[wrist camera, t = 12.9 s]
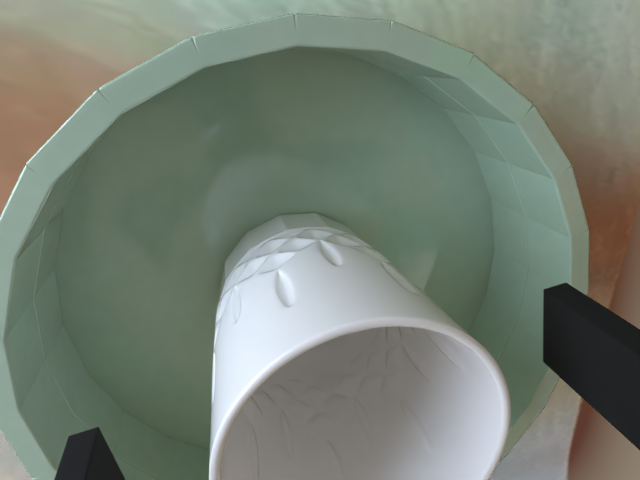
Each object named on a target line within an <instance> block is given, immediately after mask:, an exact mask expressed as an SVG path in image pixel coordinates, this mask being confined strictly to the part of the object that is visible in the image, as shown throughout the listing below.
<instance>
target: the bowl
mask: <svg viewBox="0 0 640 480" xmlns="http://www.w3.org/2000/svg"><path fill="white" fill-rule="evenodd" d="M26 164H27V165H26V166H24V168H23V170H22V172H21V174H20V176H19V178H18V180H17V182H16V184H15V186H14V188H13V191H12V193H11V195H10V197H9V199H8V201H7V203H6V205H5V207H4V209H3V211H2V213H1V215H0V430H1V432H2V433H3V435H4V436H5V438H6V440H7V441H8V443H9V444H10V446H11V447H12V449H13V451H14V452H15V454H16V455H17V457H18V458H19V460H20V462H21V463H22V465H23V466H24V468H25V469H26V471H27V473H28V474H29V476H30V477H31V478H32V480H54V479H55V476H56V473H57V470H58V467H59V464H60V461H61V458H62V455H63V452H64V449H65V446H66V443H67V440H68V437H69V436H70V435H74V434H77V433H80V432H83V431H87V430H90V429H93V428H96V427H99V428H100V430H101V432H102V434H103V436H104V438H105V440H106V442H107V444H108V446H109V448H110V450H111V452H112V454H113V456H114V458H115V460H116V462H117V464H118V466H119V468H120V470H121V472H122V474H123V476H124V478H125V480H209V458H210V432H211V399H212V365H213V353H214V339H215V324H216V312H217V306H218V303H219V290H220V284H221V279H222V273H223V268H224V262H225V260H226V258H227V257H228V256H229V255H230V253H231V252H232V251H233V249H234V248H235V247H236V245H237V244H238V243H239V241H240V240H241V239H242V237H243V236H244V235H245V233H246V232H248V231H250V230H251V229H253V228H255V227H257V226H259V225H261V224H263V223H265V222H266V221H268V220H270V219H272V218H274V217H276V216H278V215H284V214H299V213H318V214H320V215H322V216H325V217H327V218H330V219H332V220H335V221H337V222H340V223H342V224H344V225H347V226H348V227H349V228H350V229H351V230H352V231H353V232H354V233H355V234H356V235H357V236H358V237H359V238H360V239H361V240H362V241H364V242H365V243H367V244H368V245H370V246H371V247H373V248H374V249H376V250H377V251H378V252H379V253H381V254H382V255H383V256H384V257H385V258H386V259H387V260H389V261H390V262H391V263H392V264H393V265H395V266H396V267H397V268H398V269H400V270H401V271H402V272H403V273H404V274H405V275H406V276H407V277H408V278H409V279H410V280H412V281H413V282H414V283H415V284H416V285H417V286H418V287H419V288H420V289H421V290H422V291H423V292H424V293H425V294H427V295H428V296H429V297H430V298H431V299H432V300H433V301H434V302H435V303H436V304H437V305H438V306H440V307H441V308H442V309H443V310H444V311H445V312H446V313H447V314H448V315H449V316H450V317H452V318H453V319H454V320H455V321H456V322H457V323H458V324H459V325H460V326H461V327H463V328H464V329H465V330H466V331H467V332H468V333H469V334H470V335H471V336H472V337H474V338H475V339H476V340H477V341H478V342H479V343H480V344H481V345H482V346H484V347H485V348H486V350H487V351H488V352H489V353H490V354H491V355H492V356H493V358H494V359H495V360H496V362H497V363H498V365H499V367H500V369H501V370H502V373H503V375H504V377H505V380H506V382H507V386H508V389H509V394H510V401H511V422H510V429H509V434H508V439H507V442H506V445H505V448H504V451H503V454H502V456H501V458H500V461H501V460H502V459H503V458H504V457H505V456H506V455H507V454H508V452H509V451H510V450H511V449H512V447H513V446H514V445H515V444H516V442H517V441H518V440H519V439H520V437H521V436H522V435H523V434H524V433H525V431H526V430H527V429H528V428H529V426H530V425H531V424H532V423H533V421H534V420H535V419H536V418H537V416H538V415H539V414H540V413H541V411H542V409H544V407H545V405H546V403H547V401H548V399H549V397H550V395H551V394H552V392H553V390H554V388H555V386H556V384H557V382H558V380H559V378H560V377H559V376H558V375H557V374H556V373H555V372H554V371H553V370H551V369H550V368H549V367H548V366H547V365H546V364H545V363H544V362H543V292H544V289H546V288H550V287H553V286H556V285H559V284H562V283H568V284H569V285H571V286H572V287H574V288H576V289H577V290H579V291H580V292H582V293H583V294H585V295H586V296H588V295H587V294H588V275H589V230H588V229H589V227H588V224H587V220H586V216H585V212H584V208H583V204H582V201H581V197H580V193H579V189H578V185H577V181H576V178H575V174H574V170H573V167H572V166H571V162H570V161H569V159H568V158H567V156H566V154H565V153H564V151H563V150H562V148H561V146H560V145H559V143H558V141H557V140H556V138H555V137H554V135H553V133H552V132H551V130H550V129H549V127H548V125H547V124H546V122H545V121H544V119H543V117H542V116H541V114H540V113H539V111H538V109H537V108H536V106H535V105H533V103H532V102H531V101H530V100H529V99H527V98H526V97H525V96H524V95H523V94H521V93H520V92H519V91H518V90H517V89H515V88H514V87H513V86H512V85H511V84H509V83H508V82H507V81H506V80H505V79H503V78H502V77H501V76H500V75H499V74H497V73H496V72H495V71H494V70H493V69H491V68H490V67H489V66H488V65H487V64H486V63H484V62H483V61H482V60H481V59H480V58H478V57H477V56H476V55H474V54H473V53H472V52H470V51H467V50H465V49H462V48H460V47H457V46H455V45H452V44H450V43H447V42H445V41H442V40H440V39H437V38H435V37H432V36H430V35H427V34H425V33H422V32H420V31H417V30H415V29H412V28H410V27H407V26H405V25H402V24H400V23H397V22H395V21H389V20H379V19H365V18H352V17H339V16H325V15H312V14H299V13H297V14H295V15H294V14H288V15H283V16H279V17H274V18H270V19H265V20H261V21H256V22H252V23H247V24H243V25H238V26H234V27H229V28H225V29H220V30H216V31H211V32H207V33H202V34H198V35H194V36H193V38H191V37H189V38H187V39H185V40H183V41H182V42H180V43H178V44H176V45H174V46H173V47H171V48H169V49H167V50H165V51H164V52H162V53H160V54H158V55H156V56H155V57H153V58H151V59H149V60H147V61H146V62H144V63H142V64H140V65H139V66H137V67H135V68H133V69H131V70H130V71H128V72H126V73H124V74H122V75H121V76H119V77H117V78H115V79H113V80H112V81H110V82H108V83H106V84H105V85H103V86H101V87H100V88H99V89H98V90H95V91H94V93H93V94H92V95H91V96H90V97H89V98H88V99H87V100H86V101H85V102H84V103H83V104H82V105H81V106H80V107H79V108H78V109H77V110H76V111H75V112H74V113H73V114H72V115H71V117H70V118H69V119H68V120H67V121H66V122H65V123H64V124H63V125H62V126H61V127H60V128H59V129H58V130H57V131H56V132H55V133H54V134H53V135H52V136H51V137H50V138H49V140H48V141H47V142H46V143H45V144H44V145H43V146H42V147H41V148H40V149H39V150H38V151H37V152H36V153H35V154H34V155H33V156H32V157H31V158H30V159H29V160H28V161H27V163H26ZM500 461H499V462H500Z"/></svg>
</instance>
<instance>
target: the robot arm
mask: <svg viewBox="0 0 640 480" xmlns="http://www.w3.org/2000/svg"><path fill="white" fill-rule="evenodd" d="M543 362H544V363H545V364H546V365H547V366H548V367H549V368H550V369H551V370H553V371H554V372H555V373H556V374H557V375H558V376H559V377H560V378H561V379H562V380H564V381H565V382H566V383H567V384H568V385H569V386H570V387H571V388H572V389H573V390H574V391H576V392H577V393H578V394H579V395H580V396H581V397H582V398H583V399H584V400H585V401H587V402H588V403H589V404H590V405H591V406H592V407H593V408H594V409H595V410H597V411H598V412H599V413H600V414H601V415H602V416H603V417H604V418H605V419H606V420H608V422H610V423H611V424H612V425H613V426H614V427H615V428H616V429H617V430H618V431H619V432H621V433H622V434H623V435H624V436H625V437H626V438H627V439H628V440H629V441H631V443H633V444H634V445H635V446H636V447H637V448H638V449H639V450H640V329H638V328H636V327H635V326H633V325H632V324H630V323H629V322H627V321H626V320H624V319H622V318H621V317H619V316H618V315H616V314H615V313H613V312H611V311H610V310H608V309H607V308H605V307H604V306H602V305H601V304H599V303H597V302H596V301H594V300H593V299H591V298H590V297H588V296H586V295H585V294H583V293H582V292H580V291H579V290H577V289H576V288H574V287H572V286H571V285H569V284H568V283H562V284H559V285H556V286H553V287H550V288H546V289H544V292H543ZM54 480H125V478H124V476H123V474H122V472H121V470H120V468H119V466H118V464H117V462H116V460H115V458H114V456H113V454H112V452H111V450H110V448H109V446H108V444H107V442H106V440H105V438H104V436H103V434H102V432H101V430H100V428H99V427H96V428H93V429H90V430H87V431H83V432H80V433H77V434H74V435H70V436H69V437H68V440H67V443H66V446H65V449H64V452H63V455H62V458H61V461H60V464H59V467H58V470H57V473H56V476H55V479H54Z"/></svg>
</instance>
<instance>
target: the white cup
mask: <svg viewBox="0 0 640 480" xmlns="http://www.w3.org/2000/svg"><path fill="white" fill-rule="evenodd" d="M510 422H511V401H510V394H509V389H508V386H507V382H506V380H505V377H504V375H503V373H502V370H501V369H500V367H499V365H498V363H497V362H496V360H495V359H494V358H493V356H492V355H491V354H490V353H489V352H488V351H487V350H486V348H485V347H484V346H482V345H481V344H480V343H479V342H478V341H477V340H476V339H475V338H474V337H472V336H471V335H470V334H469V333H468V332H467V331H466V330H465V329H464V328H463V327H461V326H460V325H459V324H458V323H457V322H456V321H455V320H454V319H453V318H452V317H450V316H449V315H448V314H447V313H446V312H445V311H444V310H443V309H442V308H441V307H440V306H438V305H437V304H436V303H435V302H434V301H433V300H432V299H431V298H430V297H429V296H428V295H427V294H425V293H424V292H423V291H422V290H421V289H420V288H419V287H418V286H417V285H416V284H415V283H414V282H413V281H412V280H410V279H409V278H408V277H407V276H406V275H405V274H404V273H403V272H402V271H401V270H400V269H398V268H397V267H396V266H395V265H393V264H392V263H391V262H390V261H389V260H387V259H386V258H385V257H384V256H383V255H382V254H381V253H379V252H378V251H377V250H376V249H374V248H373V247H371V246H370V245H368V244H367V243H365V242H364V241H362V240H361V239H360V238H359V237H358V236H357V235H356V234H355V233H354V232H353V231H352V230H351V229H350V228H349V227H348V226H347V225H344V224H342V223H340V222H337V221H335V220H332V219H330V218H327V217H325V216H322V215H320V214H318V213H299V214H284V215H278V216H276V217H274V218H272V219H270V220H268V221H266V222H265V223H263V224H261V225H259V226H257V227H255V228H253V229H251V230H250V231H248V232H246V233H245V235H244V236H243V237H242V239H241V240H240V241H239V243H238V244H237V245H236V247H235V248H234V249H233V251H232V252H231V253H230V255H229V256H228V257H227V258H226V260H225V262H224V268H223V273H222V279H221V284H220V290H219V303H218V306H217V312H216V324H215V339H214V353H213V365H212V399H211V432H210V458H209V480H489V479H490V477H491V476H492V474H493V472H494V470H495V469H496V467H497V465H498V463H499V461H500V458H501V456H502V454H503V451H504V448H505V445H506V442H507V439H508V434H509V429H510Z"/></svg>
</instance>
